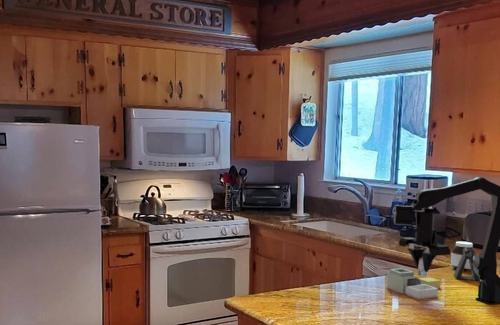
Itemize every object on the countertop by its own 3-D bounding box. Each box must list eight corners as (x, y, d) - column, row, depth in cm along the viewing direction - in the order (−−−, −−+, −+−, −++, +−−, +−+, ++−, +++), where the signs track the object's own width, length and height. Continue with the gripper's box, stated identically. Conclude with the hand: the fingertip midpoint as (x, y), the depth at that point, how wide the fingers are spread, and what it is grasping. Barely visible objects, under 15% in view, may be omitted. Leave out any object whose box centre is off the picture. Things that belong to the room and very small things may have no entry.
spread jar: (461, 272, 214) (462, 244, 214) (441, 266, 224) (442, 240, 224) (481, 270, 219) (483, 243, 219) (461, 264, 229) (462, 239, 229)
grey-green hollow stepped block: (420, 291, 181) (421, 272, 181) (402, 293, 177) (403, 273, 177) (404, 285, 188) (405, 267, 188) (386, 287, 184) (387, 268, 184)
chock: (439, 288, 187) (440, 280, 187) (427, 289, 185) (427, 281, 185) (430, 285, 192) (430, 277, 191) (417, 286, 189) (418, 278, 189)
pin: (429, 275, 174) (429, 258, 174) (422, 276, 173) (423, 259, 173) (422, 273, 177) (423, 256, 177) (416, 274, 176) (416, 257, 176)
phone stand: (455, 279, 201) (457, 249, 201) (453, 275, 207) (455, 246, 207) (480, 281, 199) (481, 251, 199) (477, 277, 205) (478, 248, 204)
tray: (437, 297, 174) (438, 288, 174) (418, 299, 171) (418, 290, 170) (424, 292, 180) (425, 284, 180) (405, 294, 176) (405, 286, 176)
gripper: (463, 229, 170) (461, 275, 170) (422, 221, 187) (420, 263, 187) (438, 230, 165) (436, 277, 165) (398, 222, 182) (397, 265, 182)
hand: (422, 270), depth 175 cm, fingers closed on pin, 3 cm apart
